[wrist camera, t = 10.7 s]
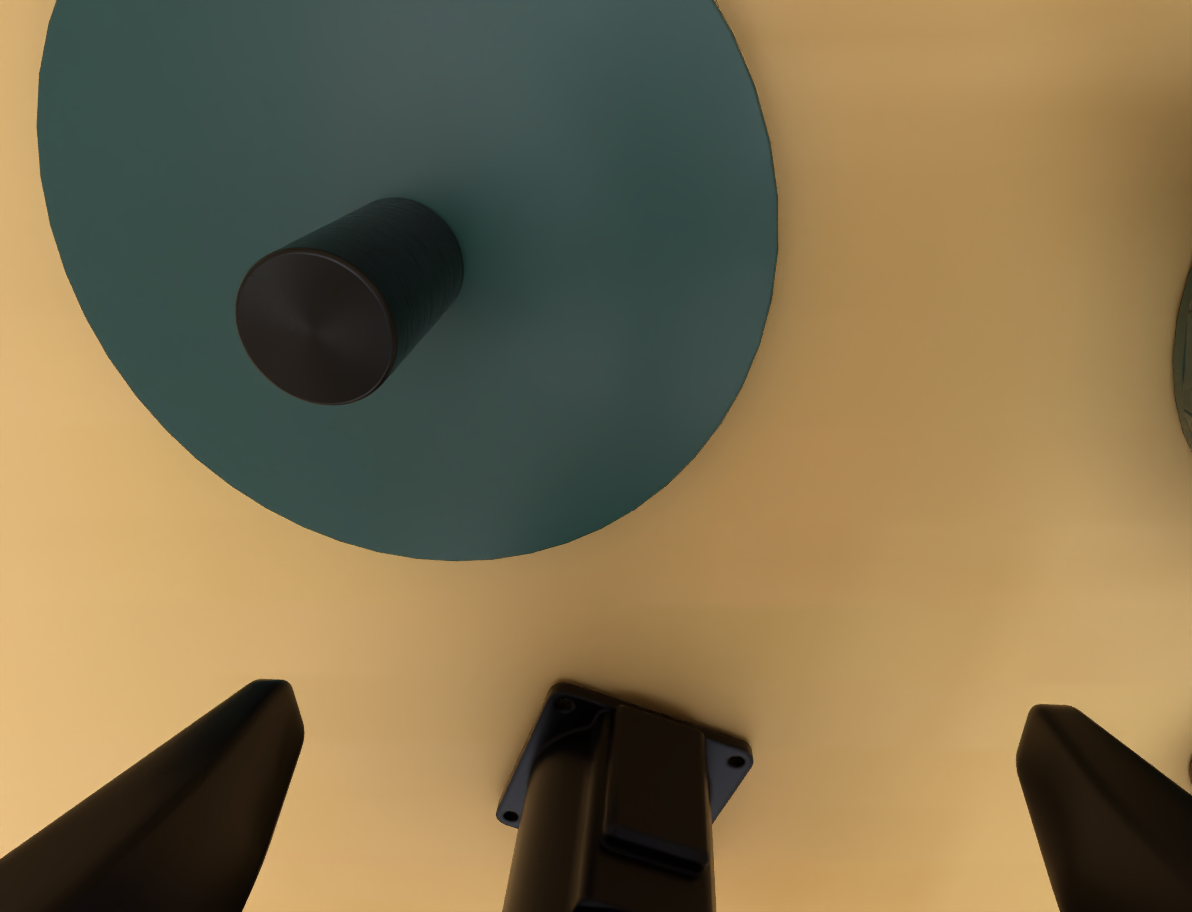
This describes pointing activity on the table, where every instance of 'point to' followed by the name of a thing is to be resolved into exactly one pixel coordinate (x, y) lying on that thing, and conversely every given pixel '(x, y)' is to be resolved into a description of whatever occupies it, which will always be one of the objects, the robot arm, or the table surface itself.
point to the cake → (1191, 772)
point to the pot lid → (417, 249)
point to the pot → (1184, 361)
